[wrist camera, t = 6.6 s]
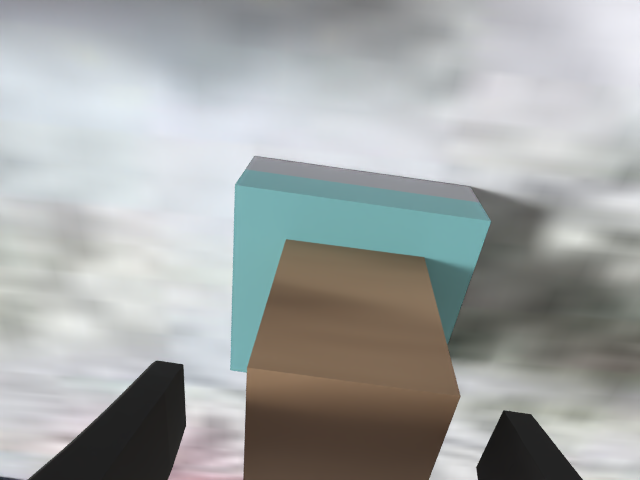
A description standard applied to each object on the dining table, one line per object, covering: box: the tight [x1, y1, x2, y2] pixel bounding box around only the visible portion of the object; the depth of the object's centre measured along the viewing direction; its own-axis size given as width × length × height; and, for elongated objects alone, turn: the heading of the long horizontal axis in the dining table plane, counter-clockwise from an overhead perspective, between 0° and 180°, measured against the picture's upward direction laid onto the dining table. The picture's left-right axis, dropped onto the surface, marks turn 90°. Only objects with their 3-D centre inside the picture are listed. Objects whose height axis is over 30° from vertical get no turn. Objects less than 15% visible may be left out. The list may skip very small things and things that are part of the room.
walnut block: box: [243, 239, 460, 480], centre depth 11 cm, size 4×4×5 cm
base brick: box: [230, 156, 491, 372], centre depth 15 cm, size 7×7×2 cm
